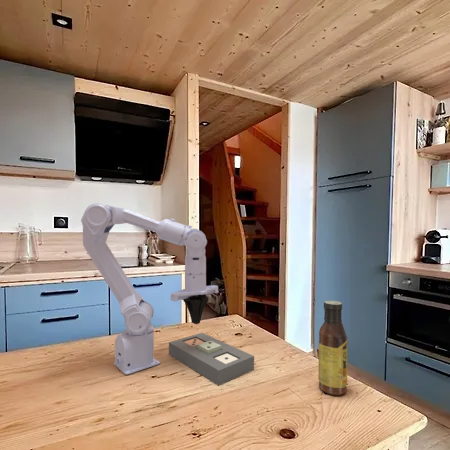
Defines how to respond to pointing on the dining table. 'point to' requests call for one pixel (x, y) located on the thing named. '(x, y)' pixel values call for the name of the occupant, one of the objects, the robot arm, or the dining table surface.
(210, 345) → the tile two
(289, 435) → the dining table surface
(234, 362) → the tile tray
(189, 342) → the tile three
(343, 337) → the sauce bottle
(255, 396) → the dining table surface
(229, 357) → the tile one
